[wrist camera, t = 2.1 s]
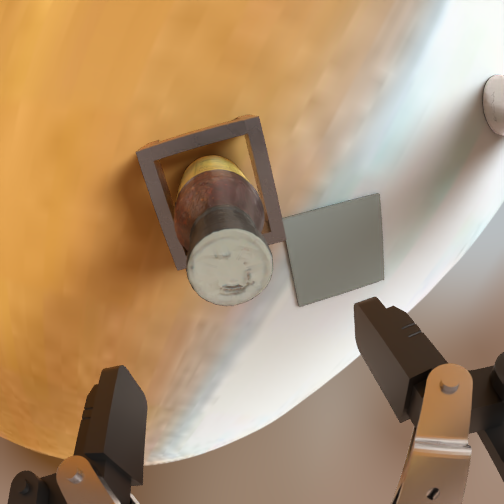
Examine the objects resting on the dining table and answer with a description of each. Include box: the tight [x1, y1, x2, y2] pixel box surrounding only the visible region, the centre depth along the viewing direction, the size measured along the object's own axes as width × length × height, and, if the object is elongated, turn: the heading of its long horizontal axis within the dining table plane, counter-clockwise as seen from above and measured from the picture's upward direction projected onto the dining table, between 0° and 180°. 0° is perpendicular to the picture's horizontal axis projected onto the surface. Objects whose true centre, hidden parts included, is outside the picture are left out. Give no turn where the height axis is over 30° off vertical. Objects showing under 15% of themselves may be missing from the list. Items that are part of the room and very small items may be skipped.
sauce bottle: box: [174, 155, 273, 306], centre depth 24 cm, size 6×6×20 cm
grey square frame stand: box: [136, 115, 287, 270], centre depth 30 cm, size 10×11×6 cm
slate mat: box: [282, 193, 384, 307], centre depth 38 cm, size 12×12×1 cm
